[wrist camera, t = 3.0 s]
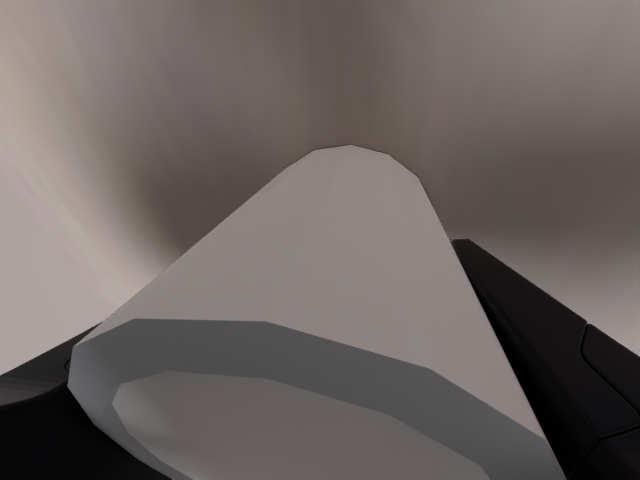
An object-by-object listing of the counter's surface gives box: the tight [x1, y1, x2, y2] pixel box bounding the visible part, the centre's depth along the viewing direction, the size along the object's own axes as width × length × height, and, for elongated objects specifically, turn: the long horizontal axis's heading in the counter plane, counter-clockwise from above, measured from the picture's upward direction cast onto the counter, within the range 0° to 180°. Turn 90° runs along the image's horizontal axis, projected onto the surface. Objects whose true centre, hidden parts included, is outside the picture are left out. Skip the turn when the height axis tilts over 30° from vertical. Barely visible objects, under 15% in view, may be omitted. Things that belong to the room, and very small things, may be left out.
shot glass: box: [67, 145, 567, 480], centre depth 7 cm, size 7×7×7 cm
